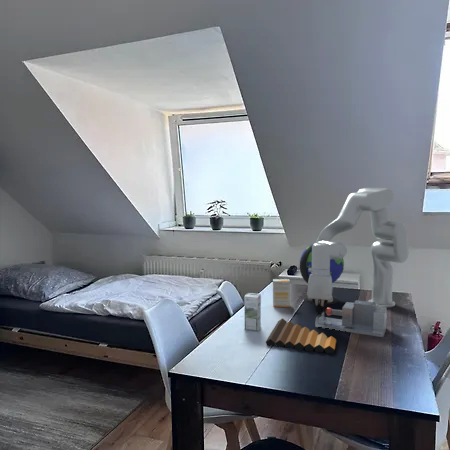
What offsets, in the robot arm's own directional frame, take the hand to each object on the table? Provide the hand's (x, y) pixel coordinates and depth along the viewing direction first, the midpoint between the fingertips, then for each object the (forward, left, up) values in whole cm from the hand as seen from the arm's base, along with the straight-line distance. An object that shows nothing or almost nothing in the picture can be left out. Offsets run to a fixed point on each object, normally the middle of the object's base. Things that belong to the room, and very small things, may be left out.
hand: (319, 313), depth 182 cm
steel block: (0, +18, -3) cm, 19 cm away
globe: (-36, -9, -4) cm, 38 cm away
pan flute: (+19, -1, -5) cm, 20 cm away
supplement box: (-17, -24, -4) cm, 30 cm away
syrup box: (+19, -24, -4) cm, 30 cm away
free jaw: (0, +8, -2) cm, 9 cm away
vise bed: (0, +13, -4) cm, 14 cm away
